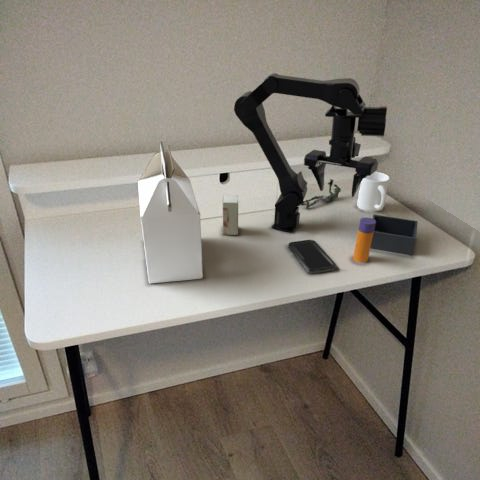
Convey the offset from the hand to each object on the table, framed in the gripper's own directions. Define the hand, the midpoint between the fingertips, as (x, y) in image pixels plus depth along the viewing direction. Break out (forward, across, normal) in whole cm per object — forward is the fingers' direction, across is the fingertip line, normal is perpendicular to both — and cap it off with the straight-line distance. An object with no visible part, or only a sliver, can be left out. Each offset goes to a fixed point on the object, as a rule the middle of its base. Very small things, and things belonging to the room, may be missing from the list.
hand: (337, 193), depth 128 cm
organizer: (+13, -16, -3) cm, 21 cm away
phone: (+12, -1, +17) cm, 20 cm away
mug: (+13, -4, -22) cm, 26 cm away
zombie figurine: (+12, +12, -18) cm, 25 cm away
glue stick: (+13, -12, +10) cm, 20 cm away
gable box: (+10, +29, +38) cm, 49 cm away
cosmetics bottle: (+10, +25, +16) cm, 32 cm away
